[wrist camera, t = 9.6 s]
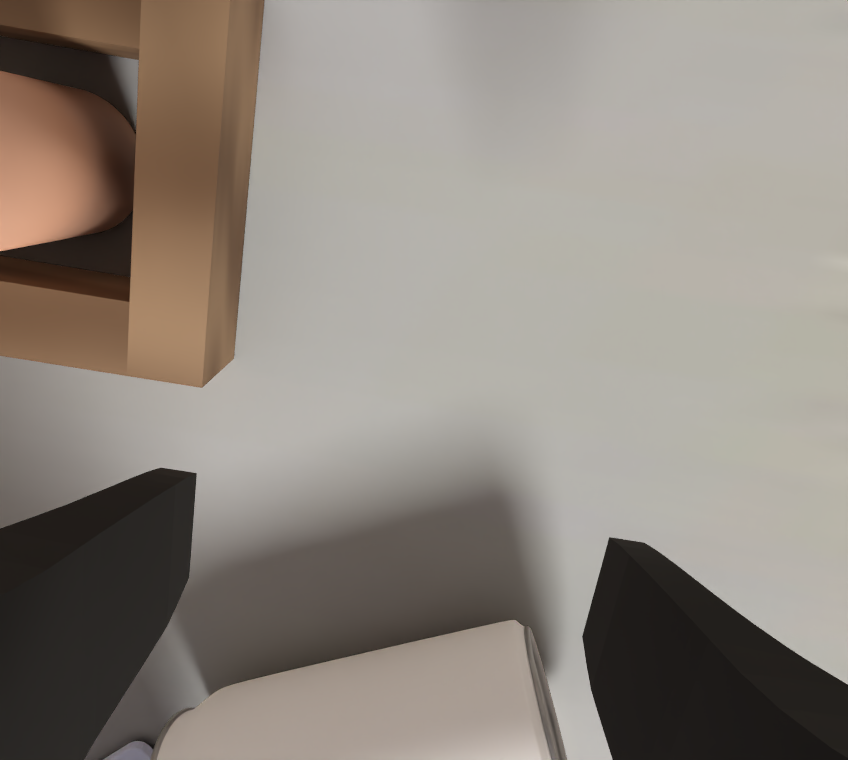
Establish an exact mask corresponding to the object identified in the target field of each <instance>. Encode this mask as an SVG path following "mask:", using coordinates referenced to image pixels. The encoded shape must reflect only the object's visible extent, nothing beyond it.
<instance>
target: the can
mask: <svg viewBox="0 0 848 760" xmlns="http://www.w3.org/2000/svg"><path fill="white" fill-rule="evenodd" d="M150 760H567V757H566V753H565V749H564V745H563V740H562V736H561V732H560V728H559V724H558V720H557V716H556V713H555V709H554V705H553V701H552V697H551V693H550V690H549V686H548V682H547V679H546V675H545V671H544V668H543V664H542V661H541V657H540V654H539V651H538V648H537V644H536V641H535V638H534V635H533V633H532V630H531V628H530V627H529V626H525V627H524V626H522V625H521V624H520V623H519V622H517V621H516V620H509V621H504V622H499V623H494V624H489V625H485V626H480V627H476V628H471V629H467V630H462V631H458V632H454V633H449V634H445V635H440V636H436V637H432V638H427V639H423V640H418V641H414V642H410V643H405V644H401V645H397V646H392V647H388V648H384V649H379V650H375V651H371V652H366V653H362V654H358V655H353V656H349V657H345V658H340V659H336V660H332V661H328V662H323V663H319V664H315V665H310V666H306V667H302V668H298V669H293V670H289V671H285V672H281V673H276V674H272V675H268V676H264V677H260V678H256V679H251V680H247V681H244V682H240V683H236V684H232V685H229V686H226V687H224V688H221V689H219V690H218V691H216V692H215V693H213V694H212V695H210V696H209V697H208V698H207V699H205V700H204V701H203V702H202V703H201V704H199V705H198V706H197V707H196V708H194V707H190V708H185V709H183V710H180V711H179V712H177V713H176V714H175V715H173V716H172V717H171V718H170V720H169V721H168V722H167V723H166V725H165V726H164V728H163V729H162V731H161V733H160V735H159V737H158V739H157V741H156V744H155V746H154V749H153V752H152V755H151V758H150Z"/></svg>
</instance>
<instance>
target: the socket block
mask: <svg viewBox="0 0 848 760" xmlns="http://www.w3.org/2000/svg"><path fill="white" fill-rule="evenodd" d="M263 11H264V0H0V36H4V37H10V38H15V39H21V40H27V41H33V42H38V43H44V44H50V45H56V46H61V47H67V48H73V49H79V50H84V51H90V52H96V53H102V54H108V55H113V56H119V57H125V58H131V59H136V60H139V71H138V97H137V123H136V149H135V175H134V201H133V227H132V253H131V277H127V276H121V275H115V274H109V273H103V272H96V271H90V270H84V269H78V268H72V267H66V266H60V265H54V264H48V263H42V262H35V261H29V260H23V259H17V258H11V257H5V256H0V356H6V357H12V358H18V359H25V360H31V361H37V362H44V363H50V364H56V365H62V366H69V367H75V368H81V369H87V370H94V371H100V372H106V373H113V374H119V375H125V376H131V377H138V378H144V379H150V380H157V381H163V382H169V383H175V384H182V385H188V386H194V387H201V388H202V387H203V386H204V385H205V384H207V383H208V382H209V381H210V380H211V379H212V378H213V377H214V376H215V375H216V374H217V373H219V372H220V371H221V370H222V369H223V368H224V367H225V366H226V365H227V364H228V363H229V362H231V361H232V360H233V359H234V350H235V338H236V327H237V315H238V303H239V291H240V280H241V268H242V256H243V245H244V233H245V221H246V210H247V198H248V186H249V174H250V163H251V151H252V139H253V128H254V116H255V104H256V93H257V81H258V69H259V57H260V46H261V34H262V22H263Z"/></svg>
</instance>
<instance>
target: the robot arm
mask: <svg viewBox="0 0 848 760" xmlns="http://www.w3.org/2000/svg"><path fill="white" fill-rule="evenodd" d="M196 474H197V473H191V472H185V471H178V470H172V469H166V468H159V469H155V470H152V471H149V472H146V473H143V474H141V475H138V476H136V477H133V478H131V479H128V480H126V481H123V482H121V483H118V484H116V485H114V486H111V487H109V488H106V489H104V490H102V491H99V492H97V493H94V494H92V495H89V496H87V497H84V498H82V499H80V500H77V501H75V502H72V503H70V504H67V505H65V506H62V507H59V508H56V509H54V510H51V511H48V512H45V513H43V514H40V515H37V516H35V517H32V518H29V519H26V520H24V521H21V522H18V523H15V524H13V525H10V526H7V527H4V528H1V529H0V760H84V758H85V757H86V755H87V753H88V751H89V750H90V748H91V746H92V744H93V743H94V741H95V739H96V738H97V736H98V735H99V733H100V731H101V730H102V728H103V727H104V725H105V724H106V722H107V720H108V719H109V717H110V716H111V714H112V713H113V711H114V709H115V708H116V706H117V705H118V703H119V702H120V700H121V698H122V697H123V695H124V694H125V692H126V691H127V689H128V688H129V686H130V684H131V683H132V681H133V680H134V678H135V677H136V675H137V673H138V672H139V670H140V669H141V667H142V666H143V664H144V662H145V661H146V659H147V658H148V656H149V654H150V653H151V651H152V650H153V648H154V646H155V645H156V643H157V642H158V640H159V638H160V637H161V635H162V633H163V632H164V630H165V628H166V627H167V625H168V623H169V620H170V618H171V616H172V614H173V612H174V610H175V608H176V606H177V603H178V601H179V599H180V597H181V594H182V592H183V590H184V587H185V585H186V583H187V581H188V578H189V571H190V557H191V543H192V529H193V516H194V502H195V488H196ZM582 637H583V643H584V650H585V657H586V663H587V669H588V675H589V680H590V686H591V691H592V694H593V697H594V701H595V704H596V707H597V711H598V714H599V717H600V720H601V724H602V727H603V730H604V733H605V737H606V740H607V743H608V746H609V749H610V752H611V755H612V758H613V760H848V685H847V684H846V683H844V682H842V681H841V680H839V679H837V678H836V677H834V676H832V675H831V674H829V673H827V672H826V671H824V670H822V669H821V668H819V667H817V666H816V665H814V664H812V663H811V662H809V661H807V660H806V659H804V658H803V657H801V656H800V655H798V654H797V653H795V652H794V651H792V650H791V649H789V648H787V647H786V646H785V645H783V644H782V643H780V642H779V641H777V640H776V639H775V638H773V637H772V636H770V635H769V634H767V633H766V632H764V631H763V630H762V629H760V628H759V627H757V626H756V625H754V624H753V623H752V622H750V621H749V620H748V619H746V618H745V617H744V616H742V615H741V614H739V613H738V612H737V611H735V610H734V609H733V608H731V607H730V606H729V605H727V604H726V603H725V602H723V601H722V600H721V599H720V598H718V597H717V596H716V595H714V594H713V593H712V592H710V591H709V590H708V589H707V588H705V587H704V586H703V585H701V584H700V583H699V582H698V581H696V580H695V579H694V578H692V577H691V576H690V575H689V574H687V573H686V572H685V571H683V570H682V569H681V568H680V567H678V566H677V565H676V564H674V563H673V562H672V561H670V560H669V559H668V558H666V557H665V556H664V555H662V554H661V553H659V552H658V551H656V550H655V549H653V548H652V547H650V546H649V545H647V544H645V543H642V542H636V541H629V540H623V539H616V538H610V537H609V541H608V545H607V548H606V552H605V556H604V559H603V563H602V567H601V570H600V574H599V578H598V581H597V585H596V589H595V592H594V596H593V600H592V603H591V607H590V611H589V614H588V618H587V622H586V625H585V629H584V633H583V636H582ZM152 752H153V749H152V748H151V747H150V746H149V745H148V744H146V743H145V742H141V741H133V742H131V743H129V744H127V745H125V746H124V747H122V748H121V749H119V750H117V751H116V752H114V753H113V754H111V755H109V756H108V757H106V758H105V759H103V760H150V758H151V755H152Z"/></svg>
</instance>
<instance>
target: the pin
mask: <svg viewBox="0 0 848 760" xmlns="http://www.w3.org/2000/svg"><path fill="white" fill-rule="evenodd" d="M135 149H136V134H135V133H134V131H133V129H132V127H131V126H130V124H129V123H128V121H127V120H126V119H125V117H124V116H123V115H122V114H121V113H120V112H119V111H118V110H117V109H116V108H115V107H114V106H112V105H111V104H110V103H109V102H107V101H106V100H104V99H103V98H101V97H99V96H97V95H95V94H93V93H91V92H88V91H85V90H82V89H78V88H73V87H69V86H64V85H60V84H56V83H51V82H47V81H43V80H38V79H34V78H30V77H25V76H21V75H17V74H12V73H8V72H4V71H0V251H4V250H9V249H14V248H20V247H25V246H30V245H36V244H41V243H46V242H52V241H57V240H62V239H68V238H73V237H78V236H84V235H89V234H94V233H100V232H103V231H106V230H109V229H111V228H113V227H115V226H116V225H118V224H119V223H121V222H122V221H123V220H124V219H125V218H126V217H127V216H128V215H129V214H130V213H131V212H132V210H133V201H134V175H135Z"/></svg>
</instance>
